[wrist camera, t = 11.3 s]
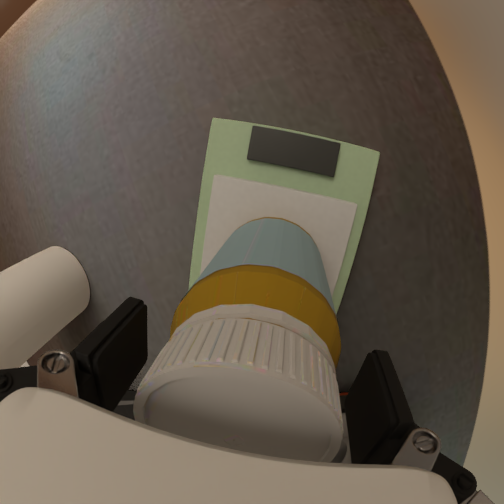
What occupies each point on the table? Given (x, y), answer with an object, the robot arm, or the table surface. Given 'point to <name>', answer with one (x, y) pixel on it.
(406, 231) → the table surface
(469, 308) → the table surface
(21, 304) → the cup
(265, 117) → the table surface
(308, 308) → the bottle
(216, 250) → the scale
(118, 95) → the table surface
